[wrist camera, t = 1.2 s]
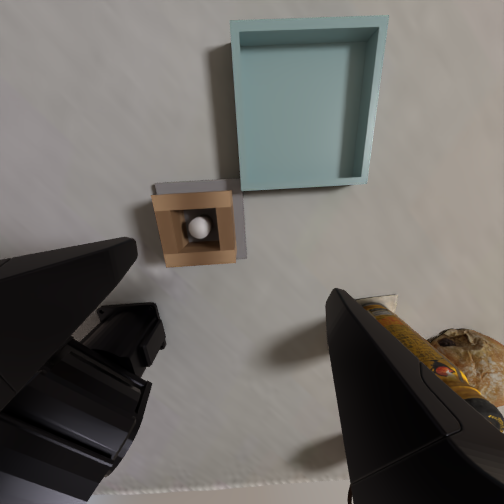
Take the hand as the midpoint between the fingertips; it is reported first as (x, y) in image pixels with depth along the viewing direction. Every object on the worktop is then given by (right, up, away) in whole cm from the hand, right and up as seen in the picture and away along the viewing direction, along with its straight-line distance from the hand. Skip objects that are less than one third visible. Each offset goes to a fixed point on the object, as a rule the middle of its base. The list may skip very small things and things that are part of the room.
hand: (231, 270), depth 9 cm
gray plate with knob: (-4, +4, +11) cm, 12 cm away
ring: (-4, +4, +11) cm, 12 cm away
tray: (+5, +13, +9) cm, 16 cm away
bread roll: (+29, -14, +19) cm, 38 cm away
